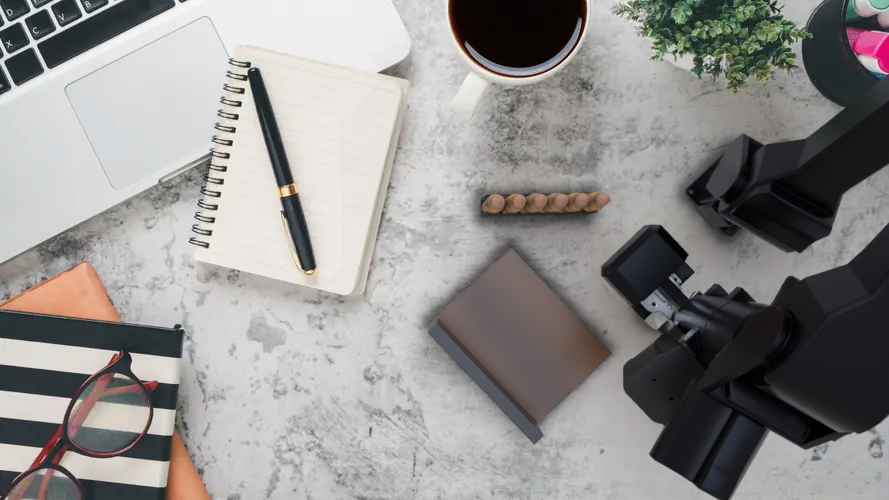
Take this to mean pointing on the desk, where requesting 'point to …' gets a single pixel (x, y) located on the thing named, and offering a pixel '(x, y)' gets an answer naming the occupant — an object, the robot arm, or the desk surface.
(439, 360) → the desk surface
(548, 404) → the walnut board
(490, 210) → the ammunition clip
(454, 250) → the desk surface
